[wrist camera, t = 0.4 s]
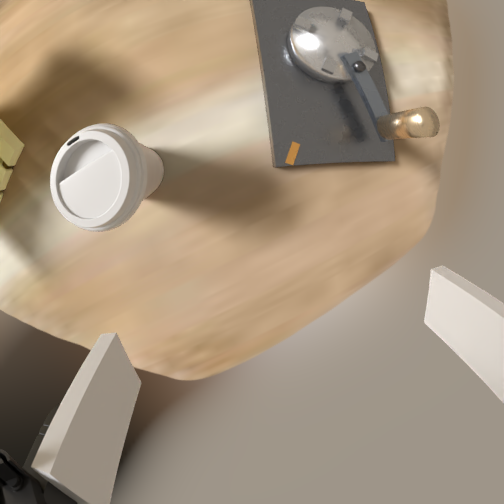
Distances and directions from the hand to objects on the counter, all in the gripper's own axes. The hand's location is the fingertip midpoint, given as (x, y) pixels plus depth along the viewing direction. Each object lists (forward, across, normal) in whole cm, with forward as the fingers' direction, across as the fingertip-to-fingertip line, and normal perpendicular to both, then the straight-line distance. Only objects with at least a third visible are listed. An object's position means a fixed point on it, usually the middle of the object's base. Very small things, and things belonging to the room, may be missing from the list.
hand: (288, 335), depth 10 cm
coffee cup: (+27, -12, +8) cm, 31 cm away
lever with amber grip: (+25, +16, +17) cm, 34 cm away
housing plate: (+27, +14, +18) cm, 35 cm away
